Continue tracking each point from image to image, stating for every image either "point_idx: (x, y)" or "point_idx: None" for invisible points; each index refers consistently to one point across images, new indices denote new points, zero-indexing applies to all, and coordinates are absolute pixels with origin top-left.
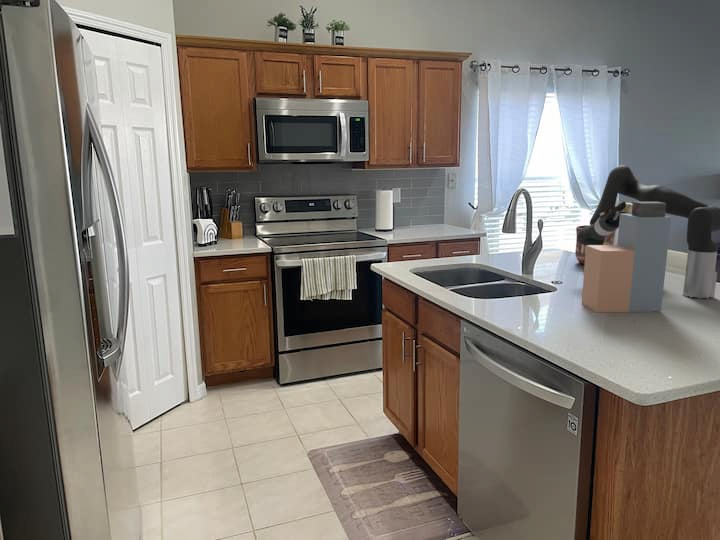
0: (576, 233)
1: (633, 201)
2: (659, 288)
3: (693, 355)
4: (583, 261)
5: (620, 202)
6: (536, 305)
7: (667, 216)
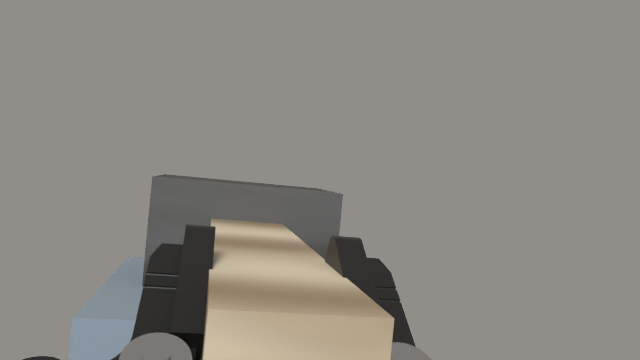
0: None
1: (211, 226)
2: None
3: None
4: None
5: (345, 314)
6: None
7: (123, 263)
